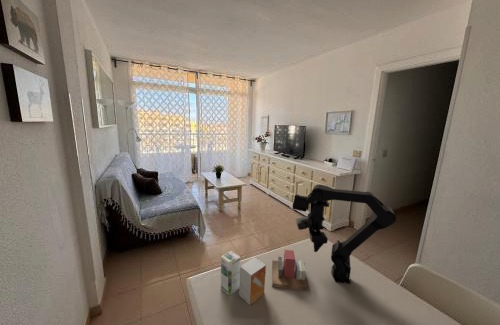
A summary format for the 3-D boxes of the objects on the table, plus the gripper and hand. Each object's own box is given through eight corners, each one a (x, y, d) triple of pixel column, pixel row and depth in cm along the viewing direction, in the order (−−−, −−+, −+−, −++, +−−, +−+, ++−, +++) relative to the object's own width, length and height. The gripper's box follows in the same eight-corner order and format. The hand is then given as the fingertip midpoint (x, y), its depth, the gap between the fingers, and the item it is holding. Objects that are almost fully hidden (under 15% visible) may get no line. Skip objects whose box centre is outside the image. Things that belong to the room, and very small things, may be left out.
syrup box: (220, 288, 82) (220, 256, 79) (231, 280, 86) (231, 249, 83) (229, 296, 78) (229, 263, 75) (240, 287, 82) (241, 256, 79)
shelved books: (302, 268, 92) (302, 259, 91) (304, 280, 85) (305, 270, 84) (294, 267, 92) (295, 258, 92) (296, 279, 86) (297, 270, 85)
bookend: (281, 265, 94) (281, 257, 93) (281, 278, 86) (282, 269, 85) (277, 265, 94) (278, 256, 93) (278, 278, 86) (279, 269, 85)
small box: (250, 306, 74) (251, 275, 72) (238, 295, 79) (239, 266, 76) (264, 293, 80) (266, 264, 77) (253, 284, 84) (254, 256, 82)
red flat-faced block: (292, 268, 92) (293, 250, 90) (293, 278, 86) (295, 259, 84) (283, 267, 92) (284, 249, 91) (284, 277, 87) (285, 258, 85)
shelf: (301, 266, 96) (302, 263, 95) (306, 290, 82) (307, 287, 82) (272, 263, 97) (272, 260, 97) (272, 286, 84) (272, 283, 83)
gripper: (295, 203, 99) (293, 232, 102) (300, 222, 80) (297, 257, 84) (319, 205, 97) (315, 234, 101) (329, 224, 79) (325, 259, 83)
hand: (313, 245), depth 92 cm, fingers open, 9 cm apart
